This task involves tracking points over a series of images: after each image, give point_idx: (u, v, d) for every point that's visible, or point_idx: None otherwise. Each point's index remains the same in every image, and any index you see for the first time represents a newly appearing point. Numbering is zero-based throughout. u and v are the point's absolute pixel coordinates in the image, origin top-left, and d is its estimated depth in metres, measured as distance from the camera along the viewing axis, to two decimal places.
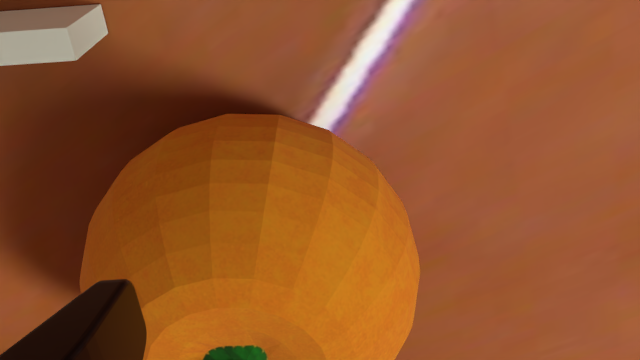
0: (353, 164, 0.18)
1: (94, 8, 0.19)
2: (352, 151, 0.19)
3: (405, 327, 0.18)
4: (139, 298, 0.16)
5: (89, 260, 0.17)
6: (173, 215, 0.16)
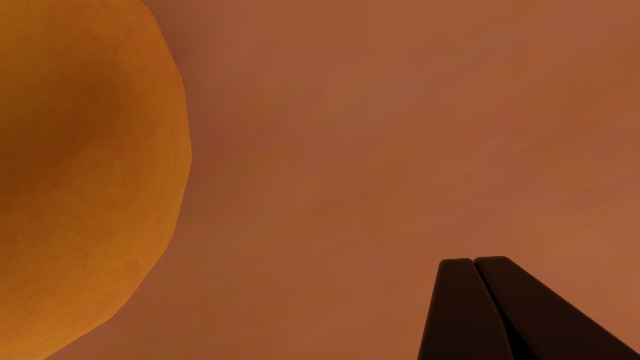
0: None
1: None
2: None
3: (123, 199, 0.11)
4: None
5: None
6: None
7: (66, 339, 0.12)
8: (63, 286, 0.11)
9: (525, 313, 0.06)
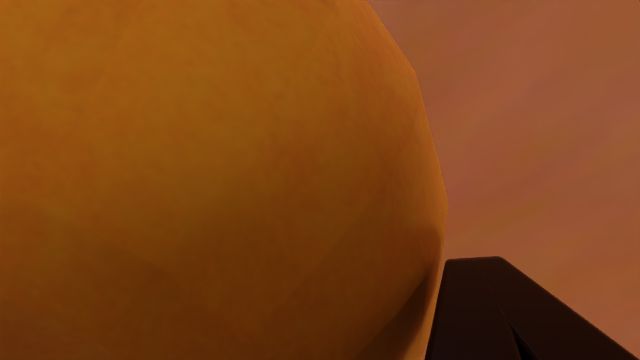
0: None
1: None
2: None
3: (419, 329, 0.08)
4: None
5: None
6: None
7: None
8: None
9: (519, 313, 0.06)
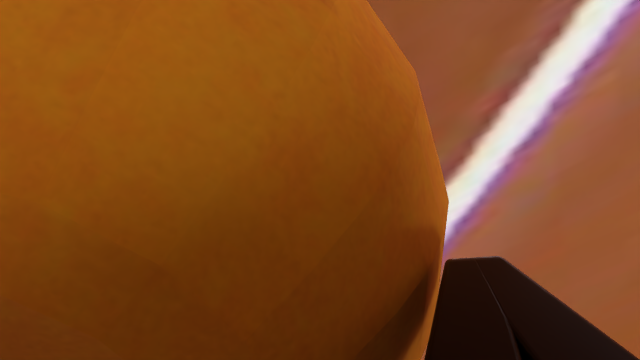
0: None
1: None
2: None
3: (420, 326, 0.08)
4: None
5: None
6: None
7: None
8: None
9: (519, 313, 0.06)
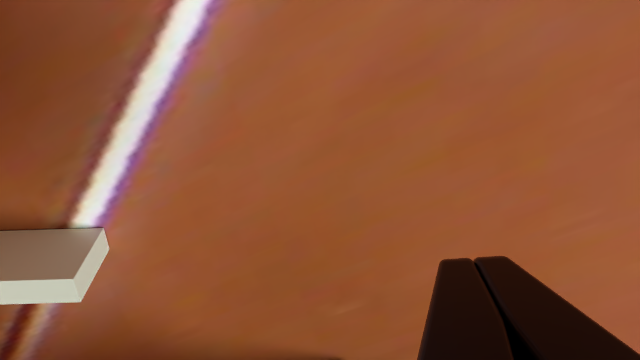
0: None
1: None
2: None
3: None
4: None
5: None
6: None
7: None
8: None
9: (525, 313, 0.06)
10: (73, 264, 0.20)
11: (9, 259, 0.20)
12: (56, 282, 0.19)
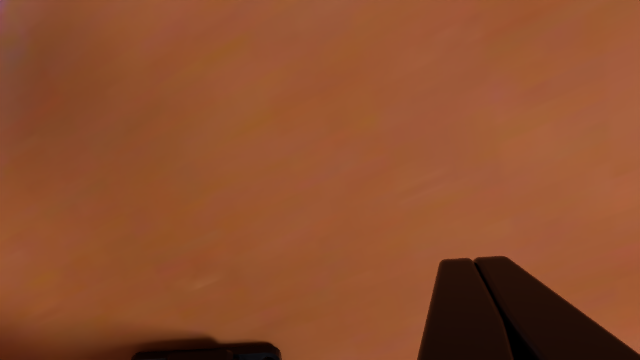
0: None
1: None
2: None
3: None
4: None
5: None
6: None
7: None
8: None
9: (525, 313, 0.06)
10: None
11: None
12: None
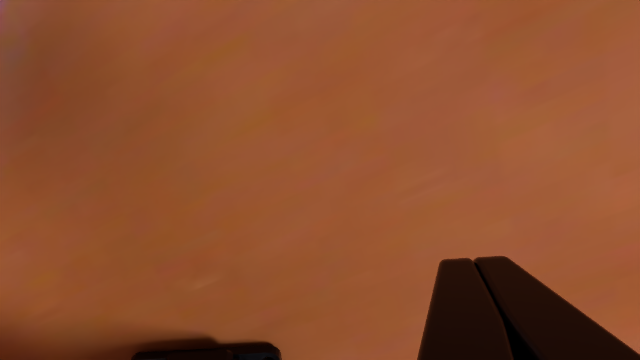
0: None
1: None
2: None
3: None
4: None
5: None
6: None
7: None
8: None
9: (525, 313, 0.06)
10: None
11: None
12: None
